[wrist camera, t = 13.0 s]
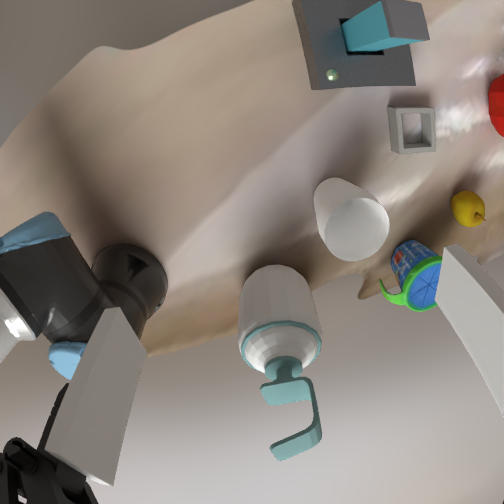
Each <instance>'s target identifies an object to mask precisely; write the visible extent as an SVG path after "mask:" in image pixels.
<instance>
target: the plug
mask: <svg viewBox="0 0 504 504" xmlns="http://www.w3.org/2000/svg"><path fill="white" fill-rule="evenodd" d="M340 27H341V31H342V35H343V39H344V44H345V49H346V53H347V54H367V53H371V52H374V51H378V50H382V49H387V48H391V47H395V46H400V45H405V44H410V43H415V42H420V41H426V40H430V38H429V33H428V29H427V24H426V20H425V16H424V12H423V9H422V5H421V3H417V2H411V1H404V0H381V1H379V2H378V3H376V4H374V5H372V6H371V7H369V8H367V9H366V10H364V11H362V12H361V13H359V14H358V15H356V16H354V17H353V18H351V19H350V20H348V21H347V22H345V23H344V24H342V25H341V26H340Z"/></svg>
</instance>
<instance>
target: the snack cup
mask: <svg viewBox="0 0 504 504" xmlns="http://www.w3.org/2000/svg"><path fill="white" fill-rule="evenodd" d="M445 247H446V246H445ZM442 258H443V257H442V256H439V255H438V254H436V253H434V252H433V251H432V250H431V249H429V248H428V247H426V246H425V245H423V244H422V243H420V242H418V241H415V240H410V241H406V242H405V243H403V244H401V245H400V246H399V247H397V248H396V249H395V252H394V254H393V256H392V260H391V266H392V269H393V272H394V274H395V277H396V279H397V281H398V284H399V286H400V288H401V293H399V294H394V295H392V294H390V293H389V292H388V291H387V290H386V289H385V287H384V285H383V283H382V280H381V279H380V280H379V281H380V286H381V290H382V293H383V295H384V297H385V298H386V299H387V300H389V301H390V302H392V303H395V304H398V305H406V306H408V307H409V308H410V309H411V310H413V311H419V312H420V311H426V310H429V309H431V308H433V307H435V306H437V305H438V304H437V303H436V301H435V296H436V291H437V286H438V281H439V276H440V270H441V264H442Z"/></svg>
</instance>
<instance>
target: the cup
mask: <svg viewBox="0 0 504 504" xmlns="http://www.w3.org/2000/svg"><path fill="white" fill-rule="evenodd" d="M313 201H314V207H315V213H316V219H317V226H318V230H319V234H320V236H321V238H322V240H323V241H324V243H325V244H326V246H327V248H328V249H329V251H330V252H331V253H332V254H333V255H334V256H335V257H337V258H339V259H341V260H344V261H360V260H363V259H366V258H368V257H370V256H372V255H373V254H375V253H376V252H377V251H378V250H379V249H380V248H381V247H382V245H383V244H384V242H385V240H386V238H387V236H388V232H389V218H388V215H387V213H386V211H385V209H384V208H383V207H382V206H381V204H380V203H379V202H378V201H377V199H376V198H375V197H374V196H373V195H372V194H370V193H369V192H367V191H365V190H364V189H362V188H360V187H358V186H356V185H354V184H352V183H350V182H348V181H345V180H343V179H341V178H329V179H326V180H324V181H323V182H321V183H320V184H319V185H318V186H317V188H316V190H315V192H314V196H313Z"/></svg>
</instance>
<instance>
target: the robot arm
mask: <svg viewBox="0 0 504 504" xmlns="http://www.w3.org/2000/svg"><path fill="white" fill-rule="evenodd" d="M167 289H168V281H167V277H166V274H165V271H164V269H163V268H162V266H161V265H160V263H159V262H158V261H157V260H156V259H155V258H154V257H153V256H152V255H151V254H149V253H148V252H146V251H145V250H143V249H141V248H139V247H136V246H133V245H129V244H115V245H111V246H109V247H107V248H105V249H104V250H102V251H101V252H100V254H99V255H98V256H97V258H96V259H95V260H94V262H93V264H92V267H91V268H90V267H89V265H88V264H87V262H86V261H85V259H84V258H83V256H82V254H81V253H80V251H79V250H78V248H77V246H76V245H75V243H74V241H73V240H72V238H71V234H70V233H69V232H67V231H66V229H65V228H64V226H63V225H62V223H61V222H60V220H59V218H58V217H57V216H56V215H55V214H54V213H52V212H43V213H41V214H39V215H37V216H35V217H33V218H31V219H29V220H28V221H26V222H24V223H22V224H21V225H19V226H17V227H16V228H14V229H13V230H11V231H9V232H8V233H6V234H5V235H3V236H2V237H0V363H1V362H2V361H3V360H4V358H5V357H6V356H7V354H8V353H9V352H10V351H11V350H12V348H13V347H14V346H15V345H16V344H17V342H18V341H21V340H35V339H36V338H37V337H38V336H39V335H40V334H41V332H42V333H43V334H44V335H45V336H46V338H47V339H48V340H49V341H50V342H51V343H52V345H51V346H50V348H49V353H48V357H49V359H50V362H51V364H52V366H53V367H54V368H55V369H56V370H57V371H58V372H59V373H60V374H62V375H63V376H64V377H66V378H67V379H69V380H71V381H70V383H66V385H65V386H64V387H63V389H62V390H61V391H60V392H59V394H58V396H57V398H56V401H55V403H54V407H53V408H52V411H51V416H49V418H48V421H47V423H46V426H45V429H44V431H43V435H42V437H41V440H40V443H39V445H38V448H37V450H36V449H34V448H33V447H32V446H30V445H29V444H27V443H26V442H25V441H24V440H22V439H21V438H18V437H15V438H12V439H11V440H9V441H8V442H7V444H6V445H5V447H4V450H3V454H2V453H0V504H24V503H22V502H20V501H19V500H18V495H20V496H22V497H24V498H26V499H27V503H26V504H98V502H97V500H96V498H95V496H94V494H93V492H92V490H91V487H90V486H89V484H88V483H87V482H86V477H88V478H89V479H91V480H93V481H95V482H97V483H101V484H105V485H109V486H113V484H114V479H115V474H116V470H117V464H118V460H119V456H120V451H121V447H122V443H123V438H124V434H125V430H126V426H127V422H128V418H129V414H130V410H131V406H132V403H133V399H134V395H135V392H136V388H137V384H138V381H139V377H140V374H141V370H142V367H143V363H144V360H145V357H146V353H147V351H146V350H145V348H144V347H143V345H142V344H141V342H140V338H141V335H142V332H143V329H144V326H145V323H146V321H147V320H148V319H149V318H150V317H151V316H152V315H153V314H154V312H156V311H157V310H158V309H159V308H160V307H161V305H162V304H163V302H164V299H165V296H166V293H167ZM435 301H436V303H437V304H438V306H439V307H440V309H441V310H442V312H443V313H444V314H445V316H446V318H447V319H448V321H449V322H450V324H451V325H452V327H453V328H454V330H455V331H456V333H457V335H458V336H459V338H460V339H461V341H462V343H463V344H464V346H465V347H466V349H467V351H468V353H469V354H470V356H471V358H472V359H473V361H474V363H475V364H476V366H477V368H478V370H479V371H480V373H481V375H482V377H483V379H484V381H485V382H486V384H487V386H488V388H489V390H490V392H491V394H492V396H493V398H494V400H495V402H496V403H497V406H498V408H499V410H500V412H501V414H502V416H503V418H504V290H503V289H502V288H501V287H500V286H499V285H498V284H497V283H496V281H495V280H494V279H493V278H492V277H491V276H490V275H489V274H488V273H487V272H486V271H485V270H484V269H483V268H482V267H481V266H480V265H479V263H478V262H477V261H475V260H474V258H473V257H472V256H471V255H470V254H469V253H467V252H466V251H465V250H464V249H463V248H462V247H461V246H460V245H459V244H454V245H450V246H446V247H444V251H443V258H442V264H441V270H440V276H439V281H438V286H437V291H436V296H435ZM503 504H504V501H503Z"/></svg>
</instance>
